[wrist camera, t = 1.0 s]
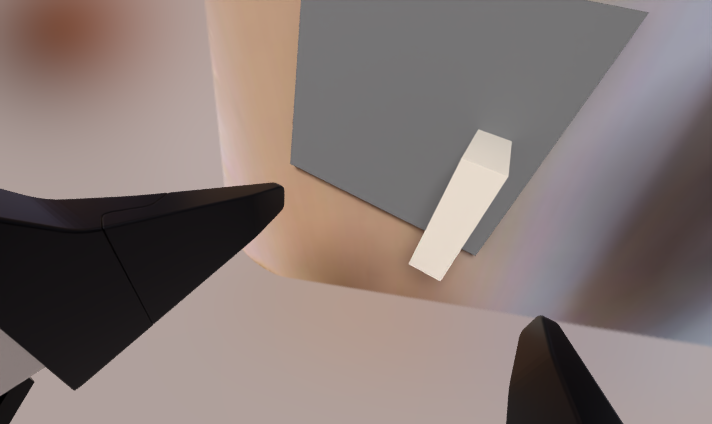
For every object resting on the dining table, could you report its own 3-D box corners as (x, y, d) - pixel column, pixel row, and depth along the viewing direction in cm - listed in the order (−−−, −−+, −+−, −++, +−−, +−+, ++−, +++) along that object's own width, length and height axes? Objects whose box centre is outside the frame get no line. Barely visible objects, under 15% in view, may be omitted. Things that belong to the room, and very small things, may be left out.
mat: (642, 14, 11) (649, 12, 11) (476, 250, 20) (475, 255, 20) (312, -51, 16) (304, -55, 16) (295, 161, 25) (290, 163, 25)
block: (478, 129, 16) (461, 157, 11) (511, 141, 15) (508, 176, 11) (433, 217, 20) (408, 264, 15) (458, 229, 19) (440, 281, 15)
